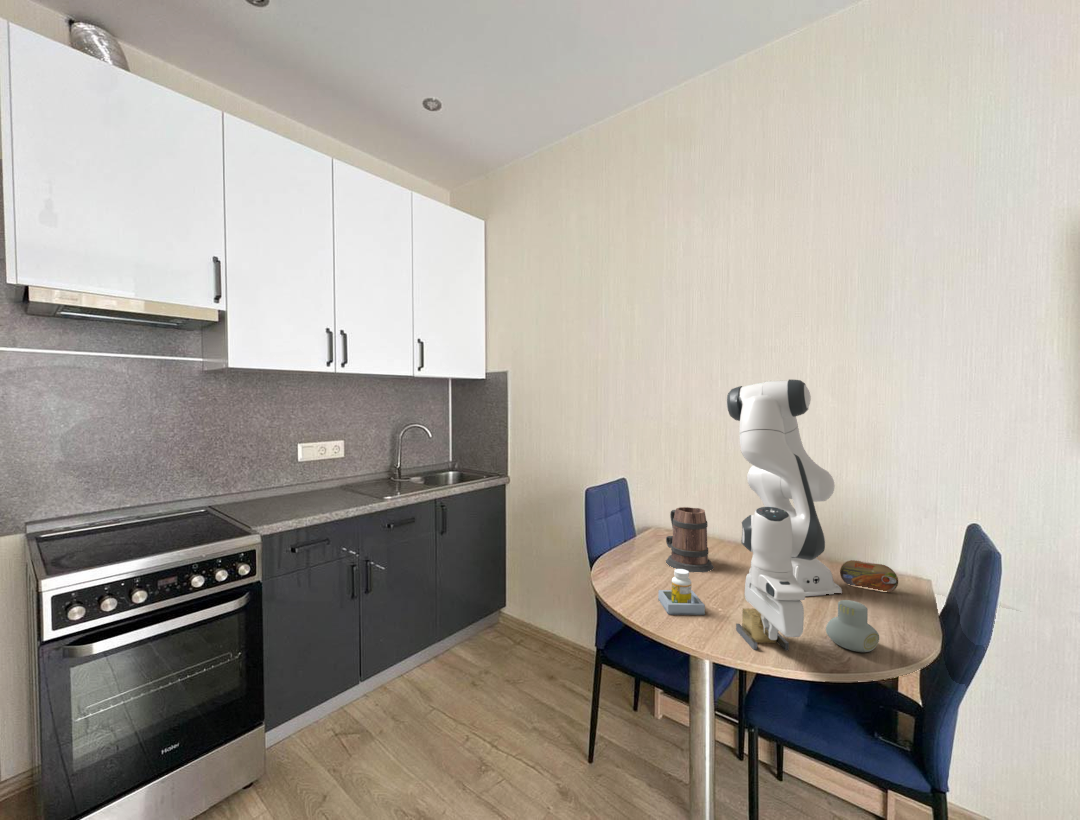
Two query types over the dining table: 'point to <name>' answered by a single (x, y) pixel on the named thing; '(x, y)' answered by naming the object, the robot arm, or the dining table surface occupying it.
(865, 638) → the grey rounded piece
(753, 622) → the block
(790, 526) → the robot arm
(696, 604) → the tray
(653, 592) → the dining table surface
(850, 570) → the tin
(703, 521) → the tankard
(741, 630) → the piston track
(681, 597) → the supplement bottle
